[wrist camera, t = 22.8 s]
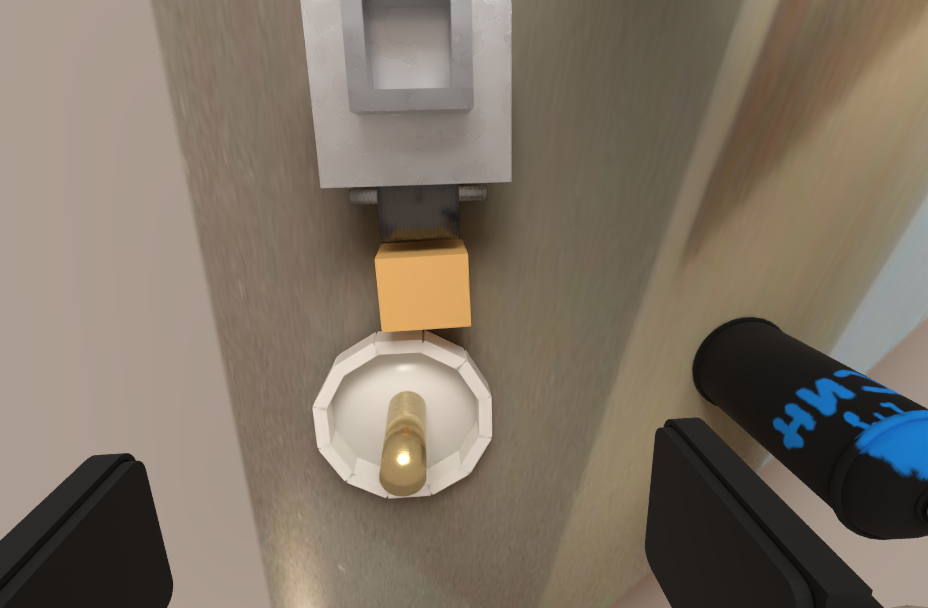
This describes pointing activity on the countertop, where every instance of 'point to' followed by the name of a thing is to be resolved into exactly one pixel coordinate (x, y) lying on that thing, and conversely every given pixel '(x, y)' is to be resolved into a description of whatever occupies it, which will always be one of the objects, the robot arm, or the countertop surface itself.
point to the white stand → (411, 105)
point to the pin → (404, 445)
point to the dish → (368, 396)
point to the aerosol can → (823, 425)
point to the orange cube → (423, 285)
